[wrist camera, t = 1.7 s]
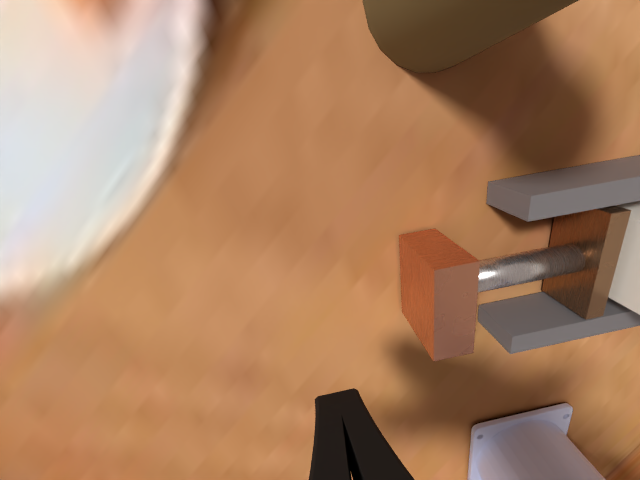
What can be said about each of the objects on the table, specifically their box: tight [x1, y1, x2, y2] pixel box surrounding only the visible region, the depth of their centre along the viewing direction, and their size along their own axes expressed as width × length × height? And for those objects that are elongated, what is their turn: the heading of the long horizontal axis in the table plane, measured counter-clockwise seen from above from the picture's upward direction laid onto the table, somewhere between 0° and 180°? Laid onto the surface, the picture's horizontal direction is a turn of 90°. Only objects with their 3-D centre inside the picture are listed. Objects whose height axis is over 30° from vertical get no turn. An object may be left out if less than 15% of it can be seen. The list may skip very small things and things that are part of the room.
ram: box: [399, 205, 631, 361], centre depth 16 cm, size 6×10×4 cm, turn 98°
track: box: [478, 155, 640, 354], centre depth 17 cm, size 9×14×3 cm, turn 98°
